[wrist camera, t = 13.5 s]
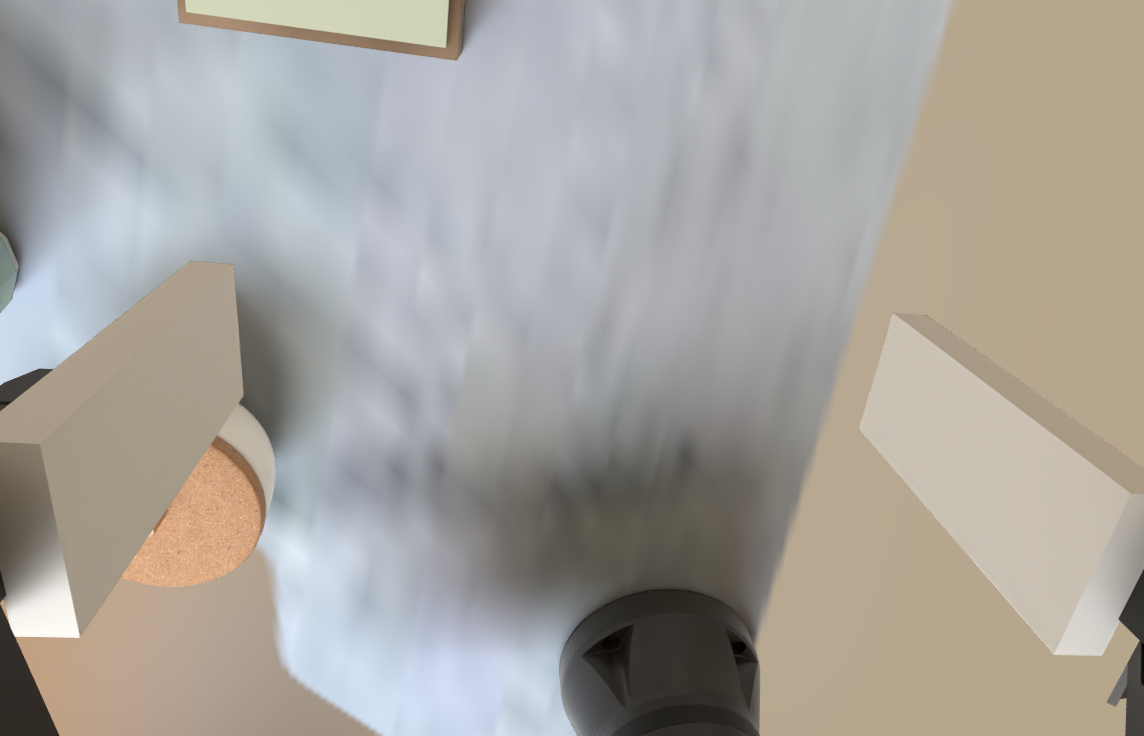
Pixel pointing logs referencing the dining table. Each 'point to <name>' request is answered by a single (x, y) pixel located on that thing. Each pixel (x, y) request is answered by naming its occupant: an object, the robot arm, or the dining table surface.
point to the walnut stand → (342, 22)
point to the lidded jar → (213, 510)
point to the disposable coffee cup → (7, 271)
